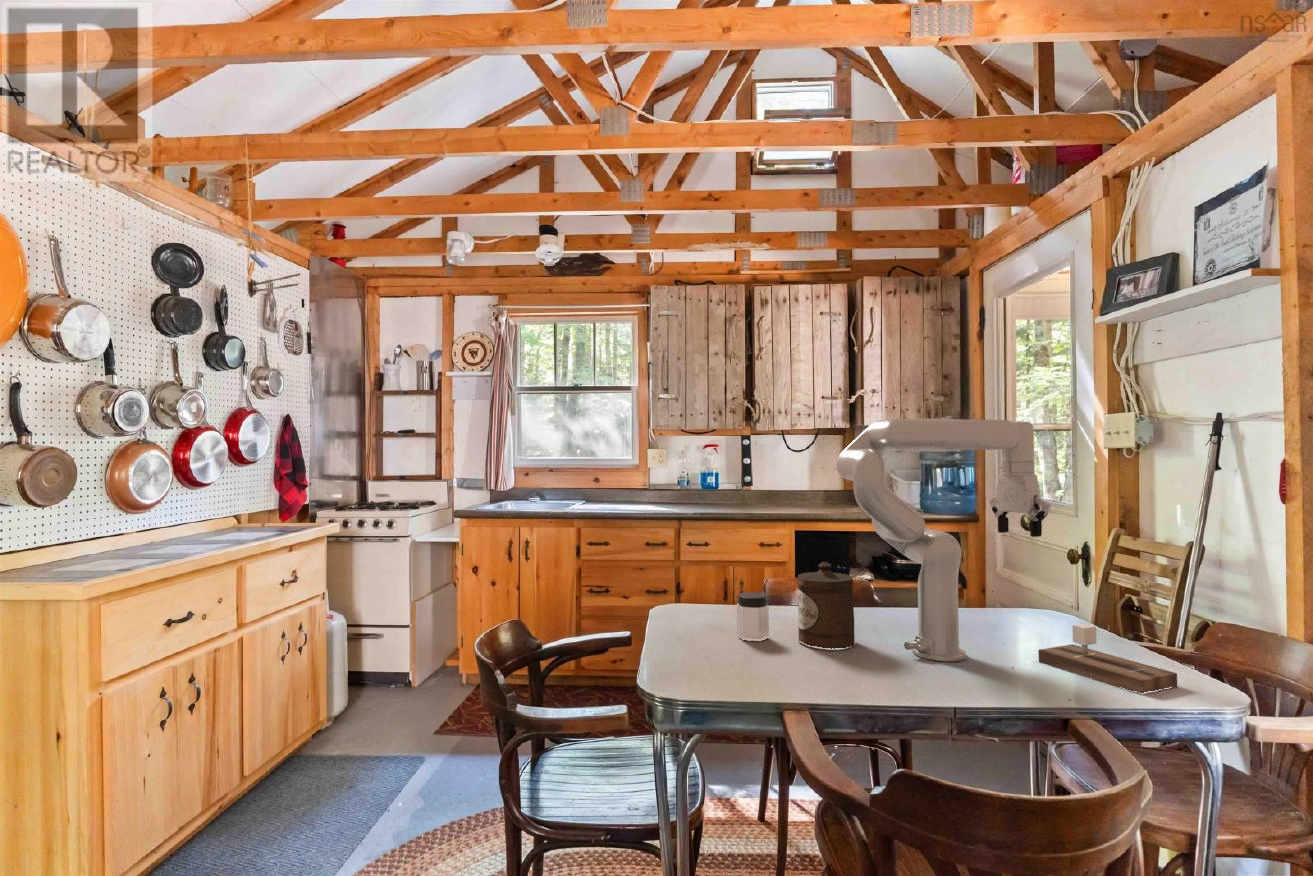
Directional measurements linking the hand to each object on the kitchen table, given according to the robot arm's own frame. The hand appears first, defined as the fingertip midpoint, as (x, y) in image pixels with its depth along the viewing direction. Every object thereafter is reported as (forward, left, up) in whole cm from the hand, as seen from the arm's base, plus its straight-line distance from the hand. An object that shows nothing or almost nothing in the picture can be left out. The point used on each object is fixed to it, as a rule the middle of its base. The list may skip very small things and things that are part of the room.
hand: (1019, 534), depth 171 cm
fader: (+2, -15, -27) cm, 31 cm away
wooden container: (-42, +26, -31) cm, 58 cm away
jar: (-58, +38, -31) cm, 76 cm away
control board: (+2, -20, -30) cm, 36 cm away
